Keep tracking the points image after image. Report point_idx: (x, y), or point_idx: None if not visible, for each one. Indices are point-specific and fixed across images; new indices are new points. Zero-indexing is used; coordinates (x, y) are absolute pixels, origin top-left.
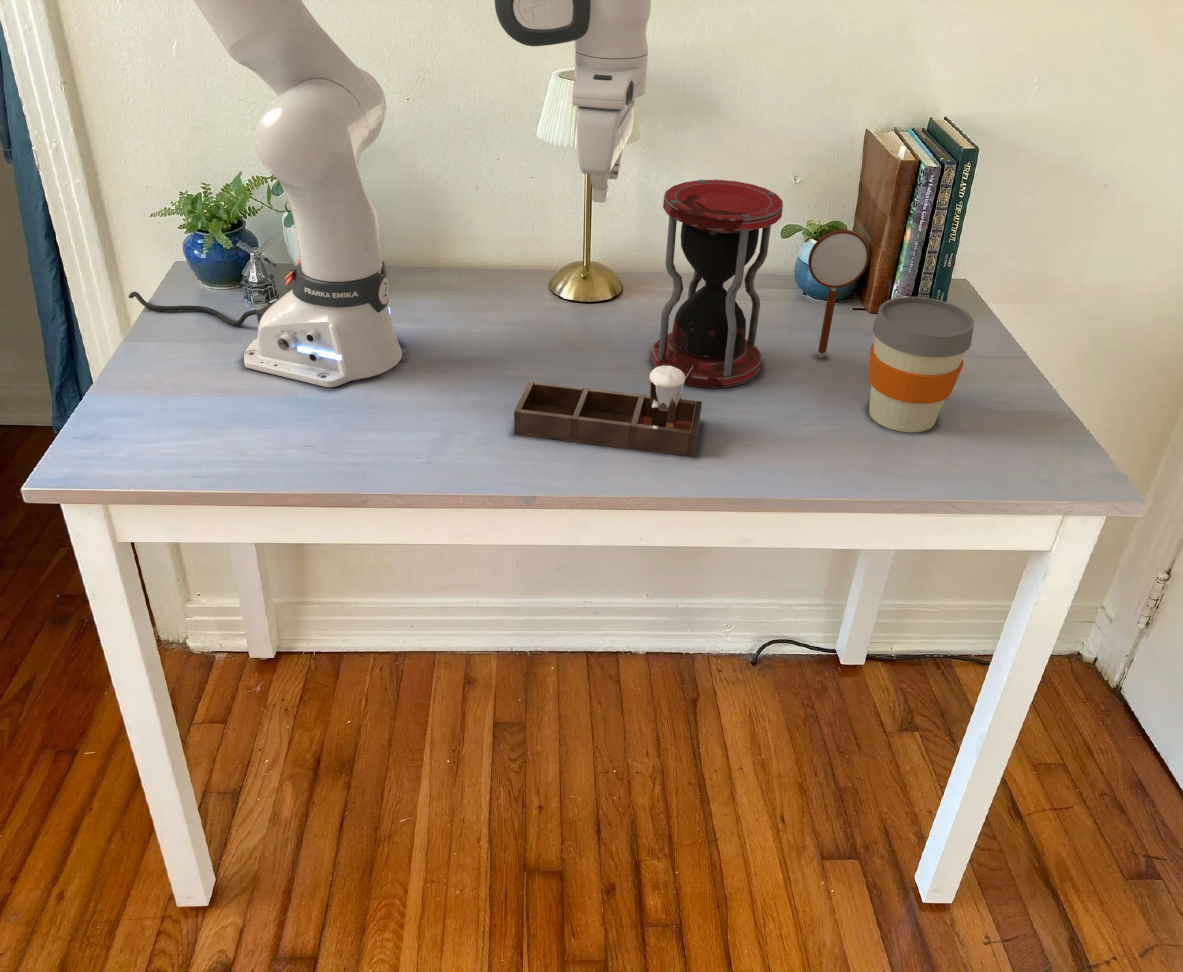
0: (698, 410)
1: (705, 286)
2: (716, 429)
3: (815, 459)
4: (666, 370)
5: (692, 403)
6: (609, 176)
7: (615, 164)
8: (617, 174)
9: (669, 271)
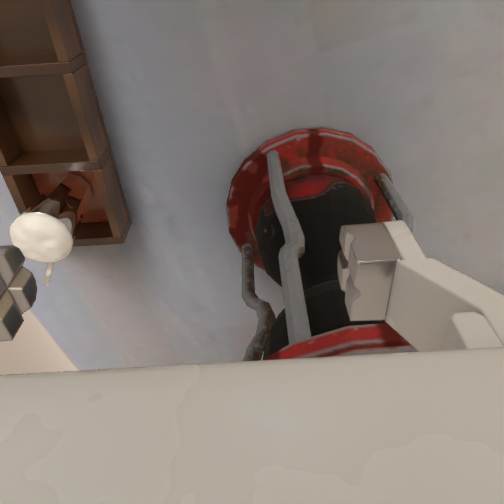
0: (96, 243)
1: (323, 276)
2: (129, 242)
3: (118, 330)
4: (33, 244)
5: (112, 233)
6: (341, 245)
7: (384, 303)
8: (343, 287)
9: (280, 250)
